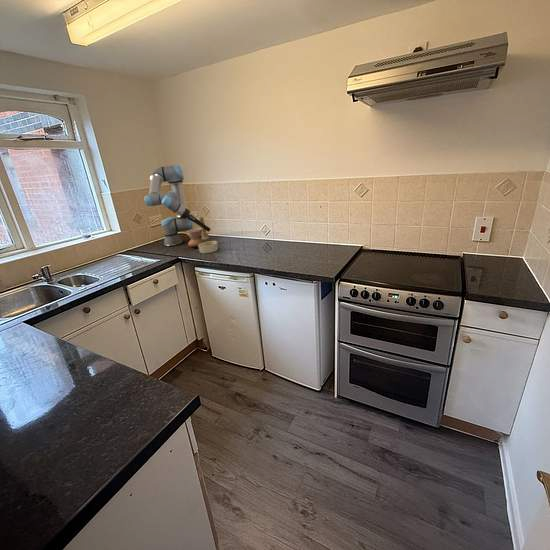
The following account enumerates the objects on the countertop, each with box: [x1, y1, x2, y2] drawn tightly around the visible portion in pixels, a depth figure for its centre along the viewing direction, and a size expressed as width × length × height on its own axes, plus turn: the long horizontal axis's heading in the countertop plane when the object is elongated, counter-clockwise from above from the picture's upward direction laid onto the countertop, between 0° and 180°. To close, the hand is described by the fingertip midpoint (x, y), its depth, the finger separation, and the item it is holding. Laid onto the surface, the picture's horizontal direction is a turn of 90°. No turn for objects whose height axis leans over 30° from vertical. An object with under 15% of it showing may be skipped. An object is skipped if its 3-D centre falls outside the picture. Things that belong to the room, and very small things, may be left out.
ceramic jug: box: [186, 227, 207, 249], centre depth 246 cm, size 18×14×14 cm
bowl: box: [197, 240, 219, 255], centre depth 231 cm, size 15×15×6 cm
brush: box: [199, 216, 210, 240], centre depth 225 cm, size 5×5×16 cm
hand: (209, 230), depth 228 cm, fingers closed on brush, 3 cm apart
